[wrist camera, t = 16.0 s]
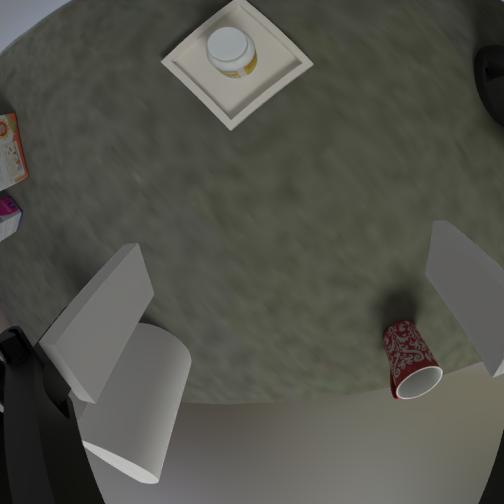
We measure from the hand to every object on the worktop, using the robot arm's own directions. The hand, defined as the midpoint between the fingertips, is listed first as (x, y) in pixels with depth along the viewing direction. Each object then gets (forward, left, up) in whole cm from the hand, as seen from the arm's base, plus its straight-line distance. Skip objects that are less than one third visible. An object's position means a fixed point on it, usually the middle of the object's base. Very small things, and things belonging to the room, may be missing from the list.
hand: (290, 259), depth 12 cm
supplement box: (+45, -31, -29) cm, 62 cm away
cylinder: (+45, +13, -29) cm, 55 cm away
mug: (+3, +42, -29) cm, 51 cm away
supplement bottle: (-5, -14, -28) cm, 32 cm away
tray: (-5, -14, -29) cm, 32 cm away
